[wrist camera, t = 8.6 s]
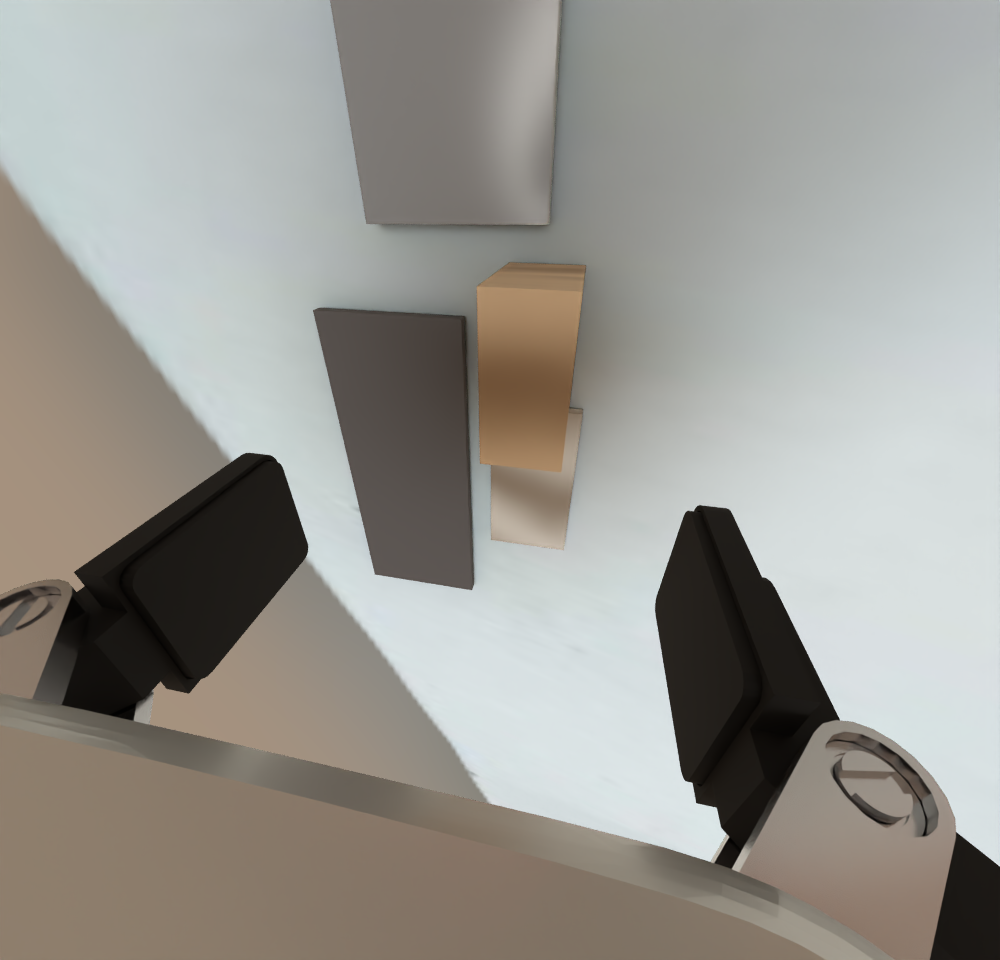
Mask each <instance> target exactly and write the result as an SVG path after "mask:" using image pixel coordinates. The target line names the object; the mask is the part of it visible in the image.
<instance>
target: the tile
mask: <svg viewBox="0 0 1000 960" xmlns="http://www.w3.org/2000/svg"><path fill="white" fill-rule="evenodd" d="M330 2H331V8H332V14H333V20H334V26H335V33H336V39H337V45H338V51H339V57H340V63H341V70H342V76H343V82H344V88H345V94H346V101H347V107H348V113H349V119H350V125H351V131H352V138H353V144H354V150H355V156H356V162H357V168H358V175H359V181H360V187H361V193H362V199H363V205H364V212H365V218H366V224H479V225H548V224H549V223H550V211H551V193H552V175H553V157H554V139H555V121H556V103H557V84H558V66H559V48H560V30H561V12H562V0H330Z"/></svg>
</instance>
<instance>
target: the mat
mask: <svg viewBox="0 0 1000 960" xmlns="http://www.w3.org/2000/svg"><path fill="white" fill-rule="evenodd" d="M313 312H314V316H315V321H316V325H317V329H318V333H319V338H320V342H321V346H322V350H323V355H324V359H325V363H326V367H327V372H328V376H329V380H330V384H331V389H332V393H333V397H334V402H335V406H336V410H337V414H338V419H339V423H340V427H341V431H342V436H343V440H344V444H345V448H346V453H347V457H348V461H349V465H350V470H351V474H352V478H353V482H354V487H355V491H356V495H357V500H358V504H359V508H360V512H361V517H362V521H363V525H364V529H365V534H366V538H367V542H368V546H369V551H370V555H371V559H372V563H373V568H374V572H375V574H376V575H382V576H388V577H394V578H401V579H407V580H413V581H419V582H425V583H431V584H438V585H444V586H450V587H456V588H462V589H469V590H472V588H473V585H474V576H473V548H472V520H471V492H470V464H469V436H468V408H467V380H466V352H465V324H464V316H448V315H431V314H414V313H397V312H381V311H364V310H347V309H330V308H318V309H315V310H313Z"/></svg>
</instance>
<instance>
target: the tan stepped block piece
mask: <svg viewBox="0 0 1000 960" xmlns="http://www.w3.org/2000/svg"><path fill="white" fill-rule="evenodd" d="M585 269H586V265H564V264H538V263H512V262H509V263H508V264H507V265H505V266H504V267H503V268H501V269H500V270H499V271H497V272H496V273H494V274H493V275H492V276H490V277H489V278H488V279H486V280H485V281H484V282H482V283H481V284H480V285H478V286H477V328H478V382H479V437H480V464H489V465H491V540H496V541H503V542H510V543H517V544H524V545H532V546H539V547H546V548H553V549H560V550H564V544H565V537H566V530H567V523H568V516H569V508H570V501H571V494H572V487H573V480H574V473H575V466H576V458H577V451H578V444H579V437H580V430H581V423H582V415H583V410H580V409H569V405H570V396H571V388H572V379H573V371H574V363H575V354H576V346H577V337H578V329H579V320H580V312H581V303H582V295H583V286H584V278H585Z"/></svg>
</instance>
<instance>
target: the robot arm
mask: <svg viewBox="0 0 1000 960" xmlns="http://www.w3.org/2000/svg"><path fill="white" fill-rule="evenodd" d="M307 553H308V543H307V540H306V537H305V534H304V531H303V528H302V525H301V522H300V519H299V516H298V513H297V510H296V507H295V504H294V501H293V498H292V495H291V491H290V488H289V485H288V482H287V479H286V476H285V473H284V470H283V467H282V465H281V464H280V463H278V462H277V460H276V459H275V458H274V457H273V456H270V455H263V454H255V453H245V454H243V455H241V456H240V457H238V458H237V459H235V460H234V461H232V462H231V463H230V464H228V465H227V466H225V467H224V468H222V469H221V470H220V471H218V472H217V473H215V474H214V475H212V476H211V477H210V478H208V479H207V480H205V481H204V482H202V483H201V484H199V485H198V486H197V487H195V488H194V489H192V490H191V491H190V492H188V493H187V494H186V495H184V496H182V497H181V498H180V499H178V500H177V501H175V502H174V503H172V504H171V505H169V506H168V507H167V508H165V509H164V510H162V511H161V512H159V513H158V514H157V515H155V516H154V517H152V518H151V519H149V520H148V521H147V522H145V523H144V524H143V525H141V526H140V527H138V528H137V529H135V530H134V531H132V532H131V533H129V534H128V535H126V536H125V537H124V538H122V539H121V540H119V541H118V542H116V543H115V544H114V545H112V546H111V547H109V548H108V549H106V550H105V551H104V552H102V553H101V554H99V555H98V556H96V557H95V558H94V559H92V560H91V561H89V562H88V563H86V564H85V565H83V566H82V567H81V568H79V569H78V570H76V571H75V572H74V573H75V574H76V575H77V577H78V578H79V579H80V580H81V581H82V583H83V584H84V585H85V587H83V588H82V589H81V590H79V591H78V592H76V591H75V590H74V589H73V587H72V586H71V585H70V584H69V583H68V582H66V581H62V580H59V579H57V580H43V581H38V582H33V583H29V584H26V585H23V586H20V587H17V588H14V589H12V590H10V591H8V592H5V593H3V594H1V595H0V960H1000V866H998V865H997V864H996V863H994V862H993V861H992V860H991V859H989V858H988V857H987V856H986V855H984V854H983V853H982V852H981V851H979V850H978V849H977V848H976V847H974V846H973V845H972V844H970V843H969V842H968V841H967V840H965V839H964V838H963V837H962V836H960V835H959V834H958V833H957V832H956V825H955V817H954V814H953V812H952V809H951V807H950V804H949V802H948V799H947V797H946V796H945V794H944V793H943V791H942V790H941V788H940V787H939V785H938V784H937V782H936V781H935V780H934V778H933V777H932V775H931V774H930V773H929V772H928V771H927V770H926V769H925V768H924V767H923V766H922V765H921V764H920V763H919V762H918V761H917V760H916V759H915V758H914V757H913V756H912V755H911V754H910V753H908V752H907V751H906V750H904V749H903V748H902V747H901V746H899V745H898V744H897V743H896V742H894V741H893V740H891V739H889V738H888V737H886V736H884V735H882V734H881V733H879V732H877V731H875V730H874V729H871V728H869V727H866V726H863V725H860V724H857V723H855V722H849V721H840V719H839V717H838V715H837V713H836V711H835V709H834V707H833V705H832V703H831V701H830V699H829V697H828V695H827V693H826V691H825V689H824V687H823V685H822V683H821V681H820V678H819V676H818V674H817V672H816V670H815V668H814V666H813V664H812V662H811V660H810V658H809V656H808V654H807V652H806V650H805V648H804V646H803V644H802V642H801V640H800V638H799V636H798V634H797V632H796V630H795V628H794V626H793V624H792V621H791V619H790V617H789V615H788V613H787V611H786V609H785V607H784V605H783V603H782V601H781V599H780V597H779V595H778V593H777V591H776V589H775V587H774V586H773V584H772V583H771V581H769V580H768V579H766V578H762V577H761V574H760V572H759V570H758V568H757V566H756V564H755V562H754V559H753V557H752V555H751V553H750V551H749V549H748V547H747V545H746V542H745V540H744V538H743V536H742V534H741V532H740V530H739V528H738V525H737V523H736V521H735V519H734V517H733V515H732V513H731V511H730V510H729V509H727V508H718V507H710V506H701V505H699V506H697V507H696V508H695V510H694V512H693V511H687V512H686V513H685V515H684V517H683V520H682V523H681V526H680V529H679V532H678V535H677V538H676V541H675V544H674V547H673V550H672V553H671V556H670V559H669V562H668V565H667V567H666V570H665V573H664V576H663V579H662V582H661V585H660V588H659V591H658V594H657V597H656V603H655V613H656V619H657V626H658V632H659V638H660V644H661V650H662V656H663V663H664V669H665V675H666V681H667V687H668V693H669V700H670V706H671V712H672V718H673V724H674V730H675V736H676V743H677V749H678V755H679V761H680V767H681V772H682V775H683V778H684V780H685V781H687V782H692V783H693V787H694V793H695V798H696V803H698V804H703V805H707V806H712V807H717V810H718V815H719V819H720V824H721V828H722V829H723V830H724V831H725V832H726V836H725V838H724V839H723V841H722V843H721V845H720V846H719V848H718V850H717V851H716V853H715V855H714V856H713V858H712V860H711V862H708V861H705V860H702V859H699V858H696V857H692V856H689V855H686V854H683V853H680V852H676V851H673V850H670V849H667V848H664V847H660V846H656V845H652V844H648V843H644V842H640V841H637V840H633V839H629V838H625V837H621V836H617V835H613V834H609V833H605V832H602V831H598V830H594V829H590V828H586V827H582V826H578V825H574V824H571V823H567V822H563V821H559V820H555V819H551V818H547V817H543V816H539V815H535V814H530V813H526V812H522V811H518V810H513V809H509V808H505V807H501V806H497V805H492V804H488V803H484V802H480V801H476V800H471V799H467V798H462V797H459V796H455V795H450V794H446V793H442V792H437V791H433V790H429V789H425V788H420V787H416V786H412V785H408V784H404V783H400V782H395V781H391V780H387V779H383V778H379V777H374V776H370V775H366V774H361V773H357V772H353V771H349V770H344V769H340V768H336V767H331V766H327V765H323V764H318V763H314V762H310V761H306V760H301V759H297V758H293V757H288V756H284V755H280V754H275V753H271V752H266V751H262V750H258V749H253V748H249V747H245V746H241V745H236V744H232V743H228V742H223V741H219V740H215V739H210V738H205V737H201V736H197V735H193V734H188V733H184V732H179V731H175V730H170V729H166V728H162V727H157V726H153V725H149V723H150V715H151V708H152V701H153V693H154V692H153V689H154V688H155V687H156V686H157V684H158V683H159V682H160V681H161V682H162V684H163V685H164V686H165V687H166V688H167V689H171V690H175V691H180V692H184V693H190V692H191V691H192V689H193V688H194V687H195V686H196V685H197V683H198V682H199V681H200V680H201V679H202V678H205V677H207V676H208V675H209V674H210V673H211V672H212V671H213V670H214V669H215V668H216V666H217V665H218V664H219V663H220V661H221V660H222V659H223V658H224V657H225V655H226V654H227V653H228V652H229V650H230V649H231V648H232V647H233V646H234V644H235V643H236V642H237V641H238V640H239V638H240V637H241V636H242V635H243V634H244V632H245V631H246V630H247V629H248V627H249V626H250V625H251V624H252V622H253V621H254V620H255V619H256V618H257V617H258V615H259V614H260V613H261V612H262V610H263V609H264V608H265V607H266V606H267V604H268V603H269V602H270V601H271V599H272V598H273V597H274V596H275V595H276V593H277V592H278V591H279V590H280V589H281V587H282V586H283V585H284V584H285V582H286V581H287V580H288V579H289V578H290V576H291V575H292V574H293V573H294V572H295V570H296V569H297V568H298V567H299V565H300V564H301V563H302V562H303V560H304V559H305V558H306V556H307Z"/></svg>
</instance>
